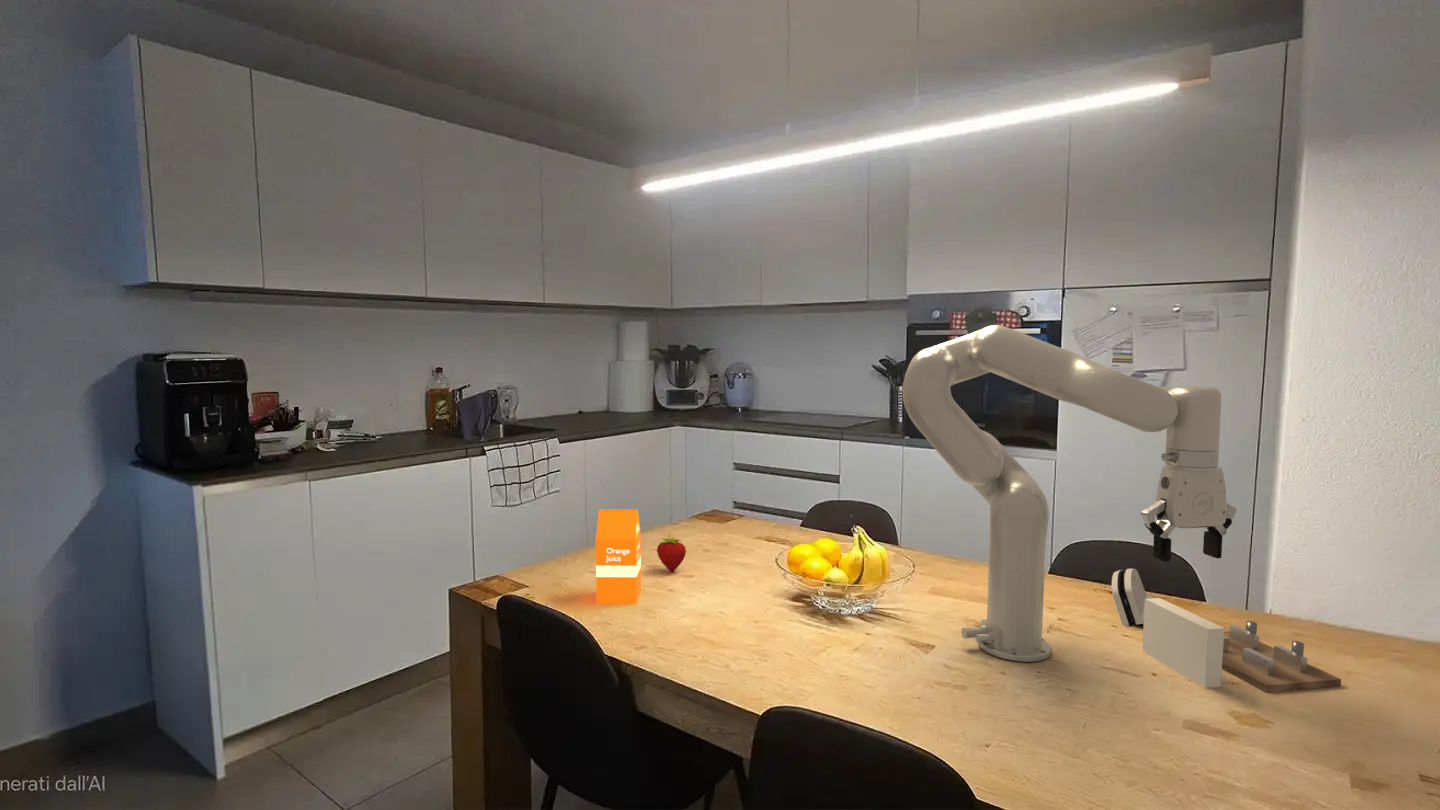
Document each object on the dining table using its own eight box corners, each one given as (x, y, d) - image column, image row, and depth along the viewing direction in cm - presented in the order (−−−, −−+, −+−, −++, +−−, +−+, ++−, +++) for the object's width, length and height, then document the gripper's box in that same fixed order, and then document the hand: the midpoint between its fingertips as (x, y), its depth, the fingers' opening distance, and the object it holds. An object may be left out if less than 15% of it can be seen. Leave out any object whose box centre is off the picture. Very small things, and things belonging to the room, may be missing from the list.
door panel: (1204, 688, 117) (1208, 629, 117) (1142, 651, 131) (1144, 598, 130) (1220, 686, 118) (1224, 628, 117) (1156, 650, 132) (1159, 597, 131)
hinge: (1151, 630, 141) (1134, 581, 142) (1125, 633, 143) (1108, 584, 144) (1156, 604, 154) (1140, 559, 156) (1131, 607, 157) (1116, 563, 158)
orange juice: (636, 604, 155) (635, 513, 154) (596, 604, 156) (594, 513, 154) (641, 591, 163) (640, 505, 162) (602, 591, 163) (601, 505, 162)
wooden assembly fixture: (1266, 692, 116) (1268, 661, 115) (1171, 641, 135) (1172, 614, 135) (1340, 686, 118) (1343, 655, 117) (1236, 636, 138) (1237, 610, 137)
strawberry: (679, 577, 173) (679, 537, 172) (652, 573, 176) (651, 533, 175) (690, 570, 178) (690, 531, 177) (664, 566, 181) (663, 527, 181)
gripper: (1162, 464, 116) (1158, 567, 118) (1255, 460, 119) (1250, 561, 120) (1129, 457, 124) (1125, 554, 125) (1218, 454, 126) (1213, 549, 128)
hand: (1186, 557), depth 123 cm, fingers open, 9 cm apart
